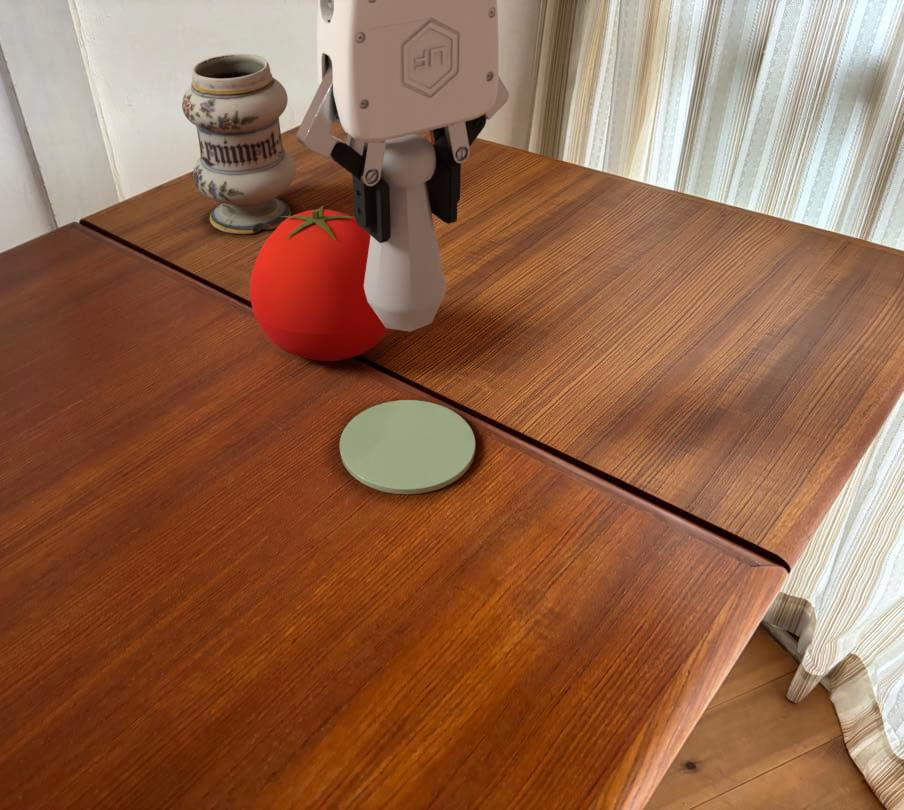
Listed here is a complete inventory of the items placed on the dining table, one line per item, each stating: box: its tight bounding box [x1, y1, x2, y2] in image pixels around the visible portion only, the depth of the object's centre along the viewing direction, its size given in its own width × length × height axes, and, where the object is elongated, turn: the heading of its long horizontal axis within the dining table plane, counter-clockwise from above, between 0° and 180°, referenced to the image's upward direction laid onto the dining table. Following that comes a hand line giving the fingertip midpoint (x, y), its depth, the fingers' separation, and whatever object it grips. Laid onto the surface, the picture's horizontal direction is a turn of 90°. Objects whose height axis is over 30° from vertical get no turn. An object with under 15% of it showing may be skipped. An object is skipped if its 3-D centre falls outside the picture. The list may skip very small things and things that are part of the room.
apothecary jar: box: [181, 53, 297, 235], centre depth 98 cm, size 12×12×18 cm
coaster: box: [339, 399, 477, 495], centre depth 69 cm, size 11×11×1 cm
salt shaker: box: [364, 134, 448, 332], centre depth 57 cm, size 6×6×13 cm
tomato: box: [249, 205, 388, 362], centre depth 75 cm, size 13×11×14 cm
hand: (408, 221), depth 56 cm, fingers closed on salt shaker, 4 cm apart
